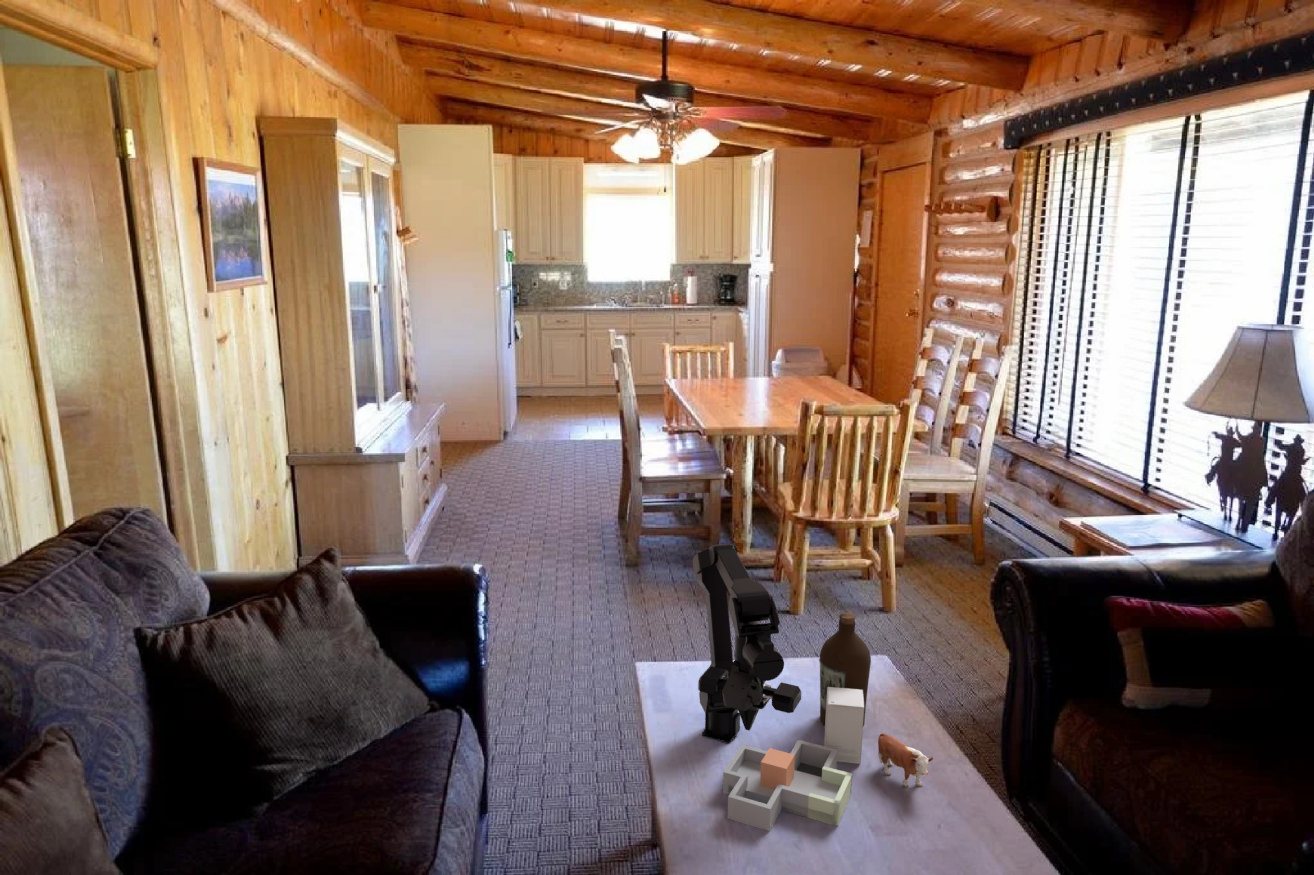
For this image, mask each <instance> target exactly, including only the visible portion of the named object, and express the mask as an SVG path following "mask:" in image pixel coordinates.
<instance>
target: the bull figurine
mask: <svg viewBox="0 0 1314 875" xmlns="http://www.w3.org/2000/svg"><path fill="white" fill-rule="evenodd" d="M877 745H878V746H877V747H878V749H877V750H878V754H877V755H878V759H879V760H878V761H879V762H880V764H883V767H884V768H883V772H885V775H886V776H888V777H889V776H891V775H892V773H891V770H890V769H889V767H893V765H894V766H896V767H899V768H901V769H903V771H904V778H903V780H902V784H903V787H905V788H909V786H910V784H909V782H908V780H909V778H910V775H911V776H913V777H915V783H916V786H917V787H919V788H921V787H923V783H922V781H921V779H920V776H928V775H929V772H928V765H929V762H932V761H933V760H934V757H933V756H931V757H927V756H926V755H924V754H923V753H922V751H920V750H918V749H916V748H913V747H911V746H908V745H906V744H905V743H903V742H902V741H900V740H899V739H897V738H895V737H893V736H891V735H889V734H886V733H884V732H882V733H880V734H879V736H878V739H877Z"/></svg>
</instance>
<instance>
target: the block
mask: <svg viewBox="0 0 1314 875" xmlns="http://www.w3.org/2000/svg"><path fill="white" fill-rule="evenodd" d="M766 751H767V753H766V755H765V756H764V758H763V759H762V761H761V777H760V786H764V787H767V788H771V789H774V790H775V789H776V787H777V786H778V784H780V785H784V786H788V787H789V786H790V784H791V782H792V781H793V779H794V762H795V755H794V754H790V753H791V752H786V751H782V750H779V749H775V748H771V747H770V748H768V750H766Z"/></svg>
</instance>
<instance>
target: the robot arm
mask: <svg viewBox="0 0 1314 875" xmlns="http://www.w3.org/2000/svg"><path fill="white" fill-rule="evenodd" d="M692 569H693V573H694V574H695V575H696V576H695V577H696V582H697V583H698V585H699V586H700V588H701V589H702V591H704V594H705V604H706V616H707V628H708V639H709V641H708V642H709V652H710V665H709V666H708V668H707V669H706V670H705V671H703V673H702V674H701V675H700V677H699V678H698V684H697V686H698V687H697V690H698V691H699V693H698V696H699V704H700V706H701V707H702V709H703V712H704V715H705V716H704V730H702V733H701V736H702V737H705V738H710V739H713V740H717V741H721V742H723V743H724V742H725V743H729V744H730V743H732V741H733V740H734V738H736V736H737V735H738V733H739V732H740V731H741V722H742V724H743V727H744V730H746V731H748V732H749V731H751V730H752V728H753V724H754V723H755V720H756V718H757V715H758V713H759V711H760V710H764V709H765V707H766V706H767V704H768V702H770V700H771V706H772V707H773V709H774V710H776V711H778V712H783V713H787V714H793V713H794V711H795V710H796V708H797V706H798V705H799V703H800V702H801V700H802V690H801V689H800V686H799V685H795V684H791V683H790V684H789V683H787V682H780V683H779V684H778V686H777V687H776V688H775V687H772V685H771V684H766V682H767V681H773V680H775V679H777V678H778V677H779V676H780V675H781V674H782V672H783V670H784V667H785V660H784V657H783V656H782V654H780V652H779V651H778V649H777V647H776V646H775V644H774V642H773V641H772V635H778V634H779V633H780V629H779V625H780V623H781V621H780V617H779V614H778V610H777V607H776V606H777V605H776V602H775V600H774V599H773V596H772V595H771V593H769V590H767V588H766V587H765V586H764V585H763V584H762V583H760V582H758V581H755V580H753V579H752V578H751V576H750V573H749V572H748V570H747V569H746V567H745V565H744V563H743V561H742V560H741V557H739V554H738V548H737V546H736V544H733V543H722V544H714V545H711V546H710V547H709V548H707V549H705V550H701V551H700V550H699V551H698V552H697V553H696V554H695V555H694V556H693V558H692ZM728 592H729V594H730V596H729V597H730V598H729V597H728ZM728 598H729V599H728ZM730 621H731V622H732V626H733V629H734V654H733V647H732V646H733V645H732V635H731V633H732V632H731V623H730ZM763 621H769V622H768V623H767V622H765V623H760V622H763ZM733 656H734V657H733Z"/></svg>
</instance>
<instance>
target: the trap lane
mask: <svg viewBox="0 0 1314 875" xmlns="http://www.w3.org/2000/svg"><path fill="white" fill-rule="evenodd" d="M767 751H768V750H764V749H760V748H757V747H752V746H749V745H745V744H741V745H740V747H739V748H738V750H737V752H736V753H735V754H734V756H733V757H732V758H731V760H730V761H729V763H728V765H727V766H726V768H725V769H724V770H723V772H722V775H723V776H722V778H723V780H722V782H723V783H722V793H723V794H724V795H725V794H726V795H727V819H728V820H731V821H735V822H739V823H741V824H744V825H748V826H752V827H753V828H754V827H755V828H758V829H761V830H765V831H768V832H771V829H772V828H773V826H774V825H775V822H776V820H777V818H778V817H779V815H780V813H781V811H783V812H786V813H791V814H795V815H797V816H801V817H804V818H808V819H811V820H814V821H818V822H822V823H825V824H828V825H830V826H831V825H832V826H835V827H838V826H839V824H840V822H841V819H842V817H843V816H844V813H845V810H846V809H847V805H848V803H849V800H850V799H851V797H852V790H853V788H852V787H853V773H852V772H848V771H844V770H840V769H837V768H838V767H837V766H838V761H837V752H838V750H837V749H833V748H829V747H825V746H824V745H820V744H816V743H812V742H809V741H804V740H800V739H797V741H796V742H795V745H794V746H793V748H792V749H791V751H790V752H789V753H790V754H794V755H795V762H794V779H793V781H792V782H791V784H790V786H789V787H788V786H784V785H780V784H778V786H777V787H776V789H775V790H774V789H771V788H767V787H764V786H760V777H761V761H762V759H763V758H764V756H765V755H766V753H767ZM728 794H729V795H728Z"/></svg>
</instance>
